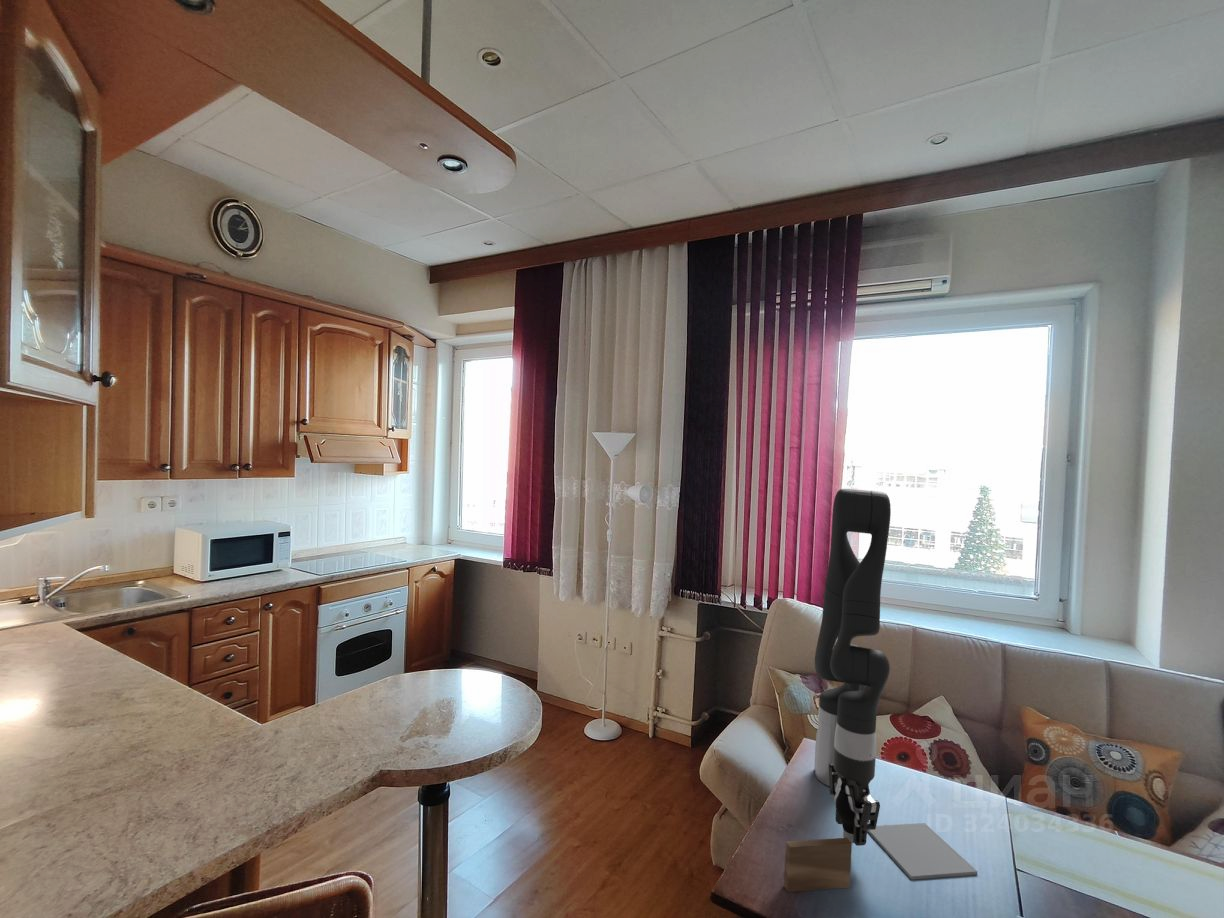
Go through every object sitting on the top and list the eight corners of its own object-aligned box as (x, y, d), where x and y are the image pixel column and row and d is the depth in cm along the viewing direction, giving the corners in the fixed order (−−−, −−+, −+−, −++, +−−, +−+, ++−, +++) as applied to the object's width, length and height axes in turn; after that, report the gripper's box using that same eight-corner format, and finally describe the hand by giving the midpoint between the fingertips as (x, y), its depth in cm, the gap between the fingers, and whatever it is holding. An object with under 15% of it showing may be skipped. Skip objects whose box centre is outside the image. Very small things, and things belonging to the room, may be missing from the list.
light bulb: (863, 836, 111) (866, 787, 111) (868, 857, 105) (871, 805, 105) (831, 829, 113) (834, 781, 112) (835, 849, 107) (838, 798, 107)
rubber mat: (865, 829, 117) (865, 826, 117) (924, 825, 119) (924, 823, 119) (911, 879, 103) (911, 876, 103) (977, 874, 105) (977, 871, 105)
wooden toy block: (783, 885, 100) (786, 841, 100) (844, 881, 102) (847, 837, 102) (787, 892, 98) (789, 847, 98) (849, 887, 100) (851, 843, 100)
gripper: (896, 768, 102) (891, 858, 102) (851, 729, 116) (846, 808, 117) (859, 770, 101) (853, 861, 101) (818, 730, 115) (813, 810, 115)
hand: (850, 832), depth 109 cm, fingers closed on light bulb, 5 cm apart
